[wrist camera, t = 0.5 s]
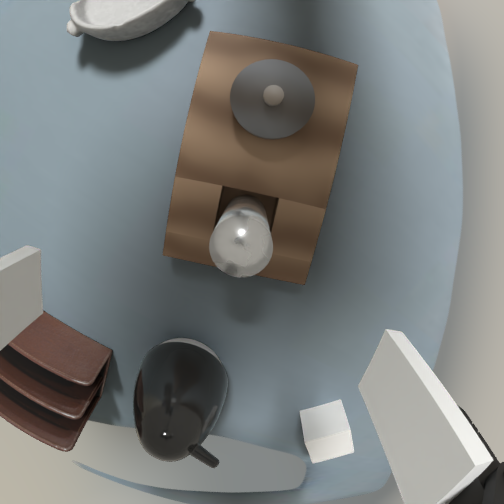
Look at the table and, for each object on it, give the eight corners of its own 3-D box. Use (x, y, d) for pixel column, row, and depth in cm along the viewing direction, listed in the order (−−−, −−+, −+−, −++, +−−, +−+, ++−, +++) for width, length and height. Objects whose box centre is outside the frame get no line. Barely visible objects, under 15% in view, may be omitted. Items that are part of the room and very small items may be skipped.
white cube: (299, 410, 39) (304, 441, 33) (340, 398, 39) (350, 428, 33) (307, 433, 41) (312, 463, 35) (345, 423, 40) (354, 452, 34)
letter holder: (103, 393, 39) (67, 462, 26) (4, 332, 37) (-47, 378, 23) (114, 349, 36) (68, 422, 23) (4, 282, 34) (-58, 325, 20)
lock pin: (229, 190, 30) (215, 209, 19) (269, 199, 30) (279, 223, 19) (221, 229, 31) (204, 270, 20) (260, 238, 31) (264, 283, 20)
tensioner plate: (213, 41, 26) (205, 17, 20) (349, 72, 27) (369, 55, 21) (170, 246, 32) (152, 266, 26) (300, 273, 33) (310, 299, 27)
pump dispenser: (211, 400, 38) (197, 493, 24) (140, 368, 37) (100, 455, 22) (246, 348, 36) (242, 449, 21) (165, 310, 34) (119, 400, 20)
